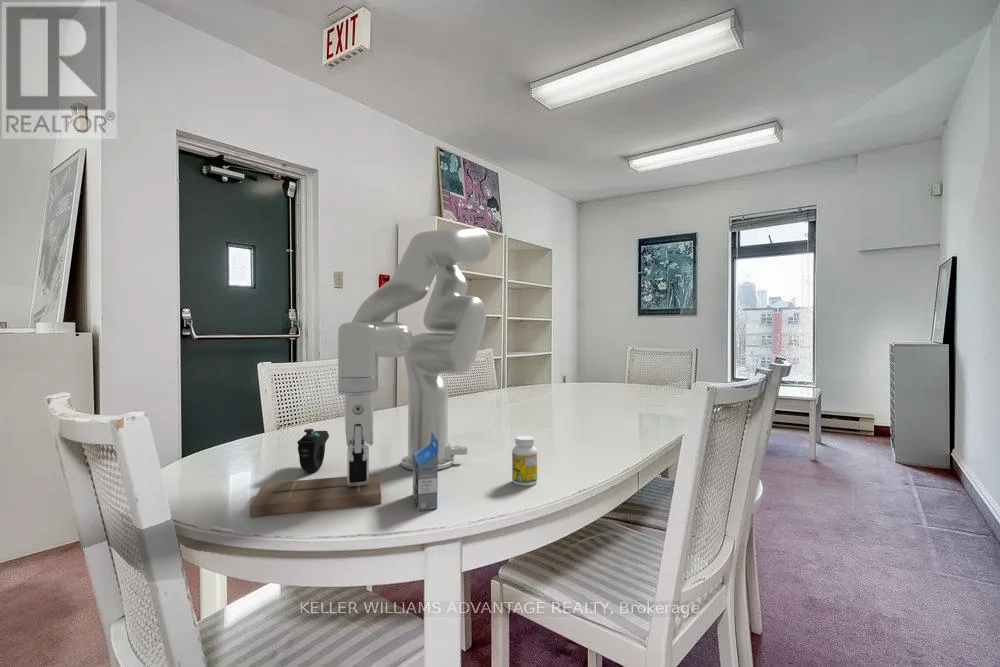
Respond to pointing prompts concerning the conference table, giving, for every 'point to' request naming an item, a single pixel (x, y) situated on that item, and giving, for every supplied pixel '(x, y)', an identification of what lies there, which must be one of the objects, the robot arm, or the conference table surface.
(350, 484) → the fader tab
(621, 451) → the conference table surface
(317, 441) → the controller
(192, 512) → the conference table surface
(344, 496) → the fader console
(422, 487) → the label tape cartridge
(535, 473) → the supplement bottle
